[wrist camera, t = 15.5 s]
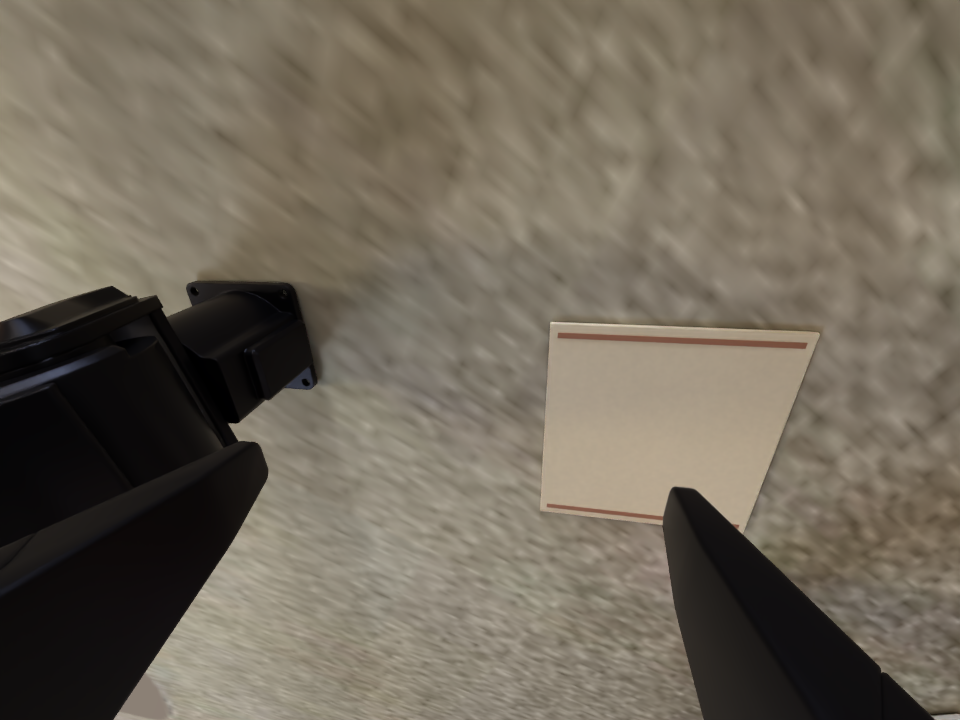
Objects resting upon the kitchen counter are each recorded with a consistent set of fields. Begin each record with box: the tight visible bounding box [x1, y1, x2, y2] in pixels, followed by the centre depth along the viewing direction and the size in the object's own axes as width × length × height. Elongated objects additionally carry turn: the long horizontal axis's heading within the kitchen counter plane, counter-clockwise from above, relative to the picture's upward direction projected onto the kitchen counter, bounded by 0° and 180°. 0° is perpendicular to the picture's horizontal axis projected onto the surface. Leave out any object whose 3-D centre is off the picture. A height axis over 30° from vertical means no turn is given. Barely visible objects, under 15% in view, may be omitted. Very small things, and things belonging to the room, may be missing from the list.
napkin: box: [540, 322, 820, 534], centre depth 22 cm, size 12×13×1 cm
